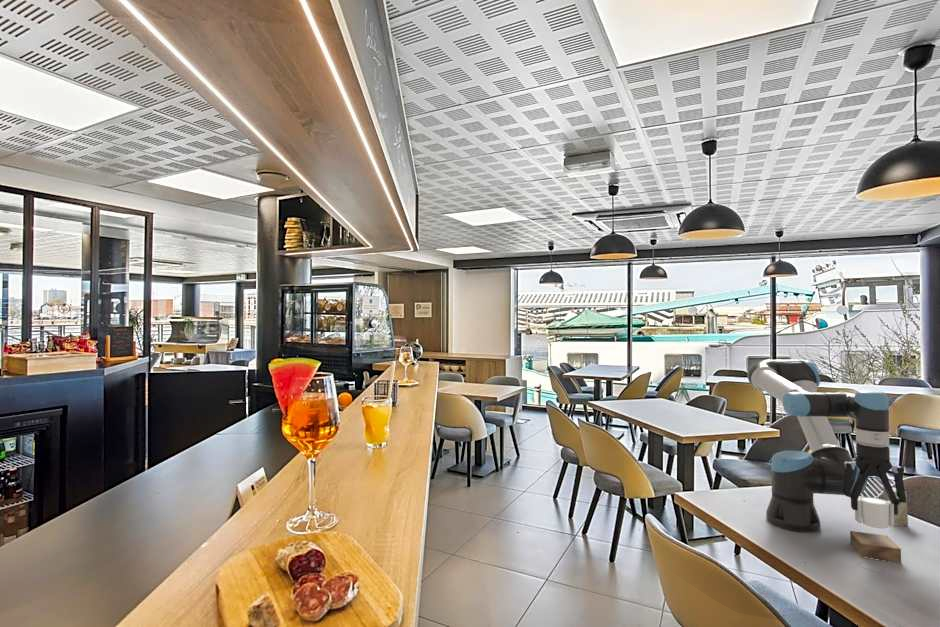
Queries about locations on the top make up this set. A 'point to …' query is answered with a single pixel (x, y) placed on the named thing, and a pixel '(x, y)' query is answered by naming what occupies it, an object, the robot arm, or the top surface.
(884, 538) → the walnut block
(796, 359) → the robot arm
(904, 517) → the box
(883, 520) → the white cylinder
